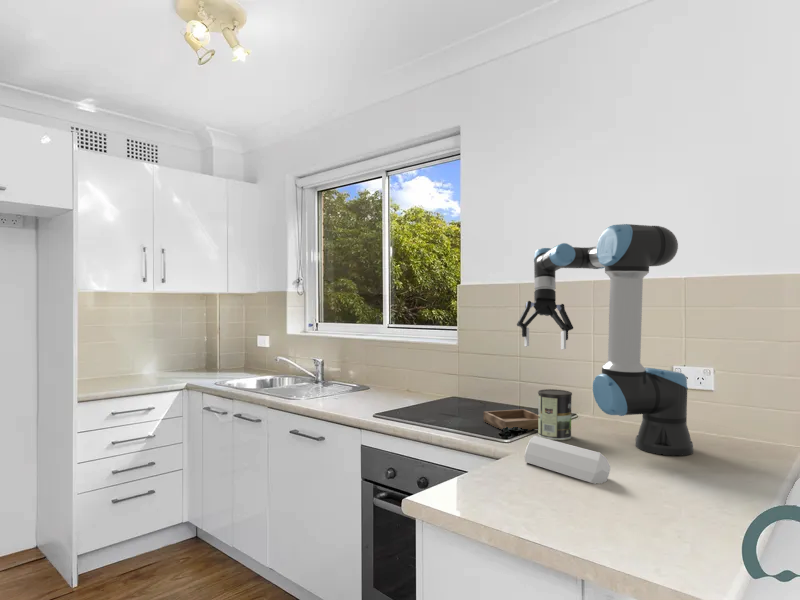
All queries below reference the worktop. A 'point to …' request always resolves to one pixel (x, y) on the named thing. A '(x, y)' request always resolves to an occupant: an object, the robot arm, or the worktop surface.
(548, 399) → the coffee can
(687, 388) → the robot arm
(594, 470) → the crystal
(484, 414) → the tray
